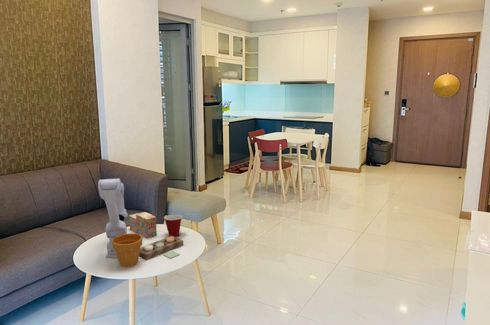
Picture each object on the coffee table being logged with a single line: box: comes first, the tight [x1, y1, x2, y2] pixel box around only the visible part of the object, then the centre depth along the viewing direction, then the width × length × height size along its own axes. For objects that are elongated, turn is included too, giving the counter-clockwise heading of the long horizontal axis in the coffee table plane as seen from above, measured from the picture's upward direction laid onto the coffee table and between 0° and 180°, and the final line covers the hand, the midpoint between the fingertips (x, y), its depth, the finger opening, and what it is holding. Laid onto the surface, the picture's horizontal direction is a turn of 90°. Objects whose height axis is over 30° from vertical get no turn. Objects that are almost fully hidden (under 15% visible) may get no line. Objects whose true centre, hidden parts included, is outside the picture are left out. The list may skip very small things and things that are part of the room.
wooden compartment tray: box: [139, 236, 184, 261], centre depth 200 cm, size 24×10×3 cm, turn 139°
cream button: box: [143, 244, 153, 252], centre depth 194 cm, size 4×4×3 cm
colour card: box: [162, 250, 181, 259], centre depth 194 cm, size 6×6×1 cm
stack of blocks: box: [128, 211, 158, 240], centre depth 223 cm, size 21×6×12 cm, turn 45°
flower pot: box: [112, 232, 143, 268], centre depth 184 cm, size 14×14×13 cm
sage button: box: [156, 242, 164, 248], centre depth 200 cm, size 4×4×3 cm
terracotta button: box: [165, 236, 174, 243], centre depth 205 cm, size 4×4×3 cm
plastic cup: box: [163, 214, 183, 238], centre depth 218 cm, size 11×11×12 cm
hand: (120, 226), depth 209 cm, fingers closed
